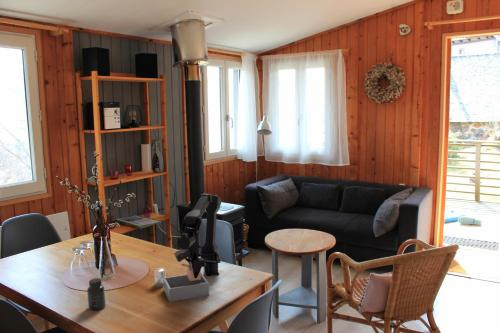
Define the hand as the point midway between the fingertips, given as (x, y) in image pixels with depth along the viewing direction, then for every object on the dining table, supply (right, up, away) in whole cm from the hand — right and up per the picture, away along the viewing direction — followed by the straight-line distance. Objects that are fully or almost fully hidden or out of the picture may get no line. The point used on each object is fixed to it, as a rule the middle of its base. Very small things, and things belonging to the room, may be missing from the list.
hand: (194, 275), depth 200 cm
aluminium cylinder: (-17, -6, +9) cm, 20 cm away
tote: (-4, -7, 0) cm, 8 cm away
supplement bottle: (-39, -10, -14) cm, 43 cm away
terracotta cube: (0, -1, 0) cm, 1 cm away
